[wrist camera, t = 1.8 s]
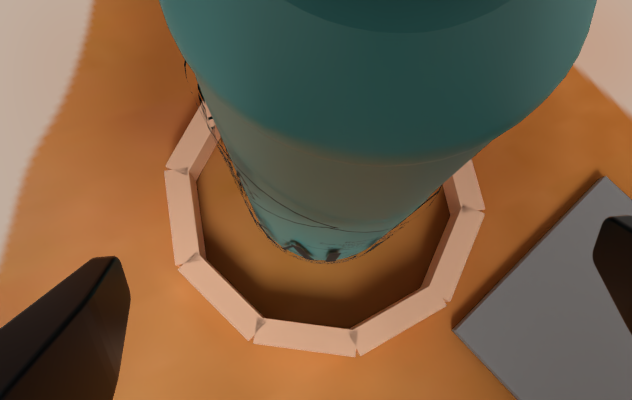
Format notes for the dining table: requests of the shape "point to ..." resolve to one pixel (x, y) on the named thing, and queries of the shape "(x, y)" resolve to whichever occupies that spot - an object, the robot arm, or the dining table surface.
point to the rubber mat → (557, 314)
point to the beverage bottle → (365, 100)
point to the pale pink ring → (304, 336)
